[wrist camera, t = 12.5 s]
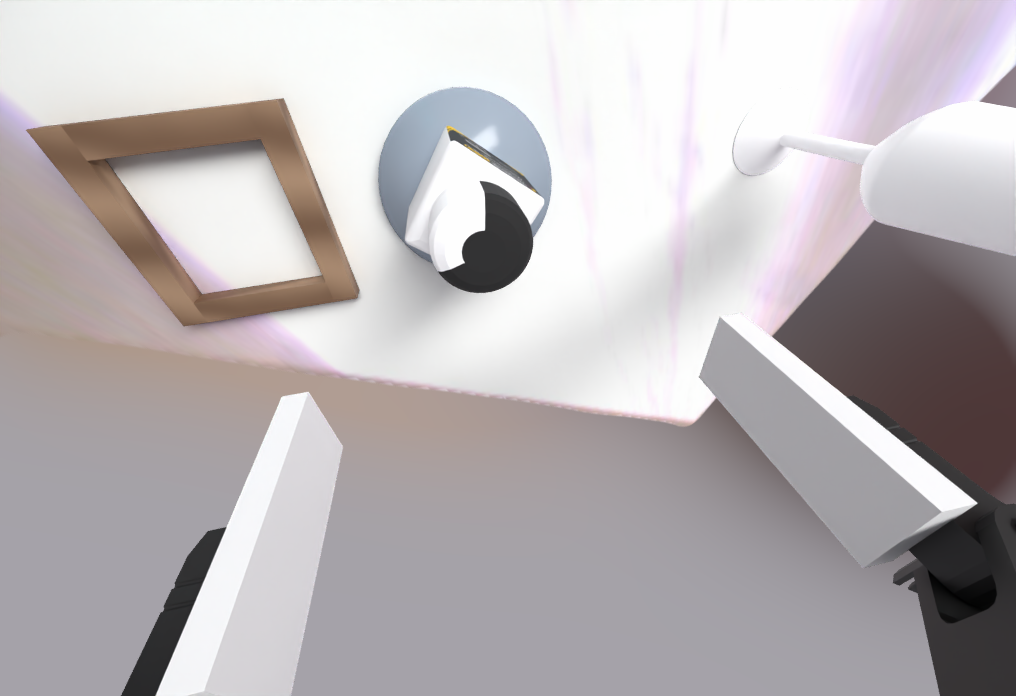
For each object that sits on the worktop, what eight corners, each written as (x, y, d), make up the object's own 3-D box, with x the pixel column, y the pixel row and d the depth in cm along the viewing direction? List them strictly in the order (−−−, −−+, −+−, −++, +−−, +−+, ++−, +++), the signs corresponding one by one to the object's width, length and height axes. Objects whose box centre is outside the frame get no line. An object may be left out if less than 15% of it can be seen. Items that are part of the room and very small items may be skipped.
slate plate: (353, 99, 25) (351, 100, 25) (547, 75, 26) (550, 76, 26) (406, 277, 34) (405, 281, 34) (550, 254, 35) (552, 258, 35)
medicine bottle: (525, 175, 30) (570, 227, 20) (482, 249, 33) (503, 322, 24) (446, 122, 27) (456, 156, 17) (407, 209, 30) (398, 276, 20)
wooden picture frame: (45, 126, 24) (25, 129, 22) (283, 98, 25) (276, 100, 24) (192, 317, 33) (183, 326, 32) (359, 290, 34) (357, 298, 33)
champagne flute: (757, 189, 35) (1130, 336, 16) (718, 148, 32) (1123, 270, 13) (821, 120, 32) (1368, 203, 13) (785, 67, 29) (1429, 79, 10)
